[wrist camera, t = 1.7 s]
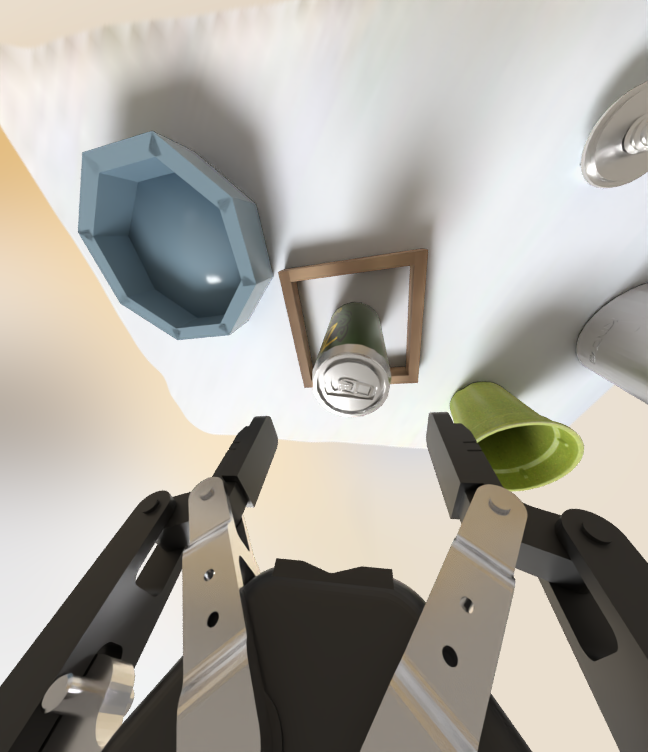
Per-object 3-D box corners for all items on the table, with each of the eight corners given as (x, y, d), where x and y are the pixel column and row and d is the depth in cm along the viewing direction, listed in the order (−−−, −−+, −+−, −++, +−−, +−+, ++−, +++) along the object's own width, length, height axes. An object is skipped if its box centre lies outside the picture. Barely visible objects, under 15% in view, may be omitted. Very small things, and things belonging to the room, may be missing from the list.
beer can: (386, 306, 23) (406, 362, 13) (371, 352, 26) (378, 426, 16) (335, 295, 23) (316, 341, 13) (326, 342, 26) (304, 409, 16)
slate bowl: (240, 138, 18) (208, 112, 14) (283, 316, 25) (269, 331, 22) (97, 178, 21) (38, 165, 17) (173, 328, 28) (143, 343, 24)
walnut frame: (422, 248, 20) (428, 249, 19) (414, 373, 27) (417, 382, 25) (284, 269, 23) (278, 271, 21) (307, 378, 29) (304, 387, 28)
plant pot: (536, 368, 24) (611, 424, 17) (506, 431, 29) (554, 496, 22) (443, 367, 26) (476, 420, 19) (429, 428, 31) (451, 488, 24)
